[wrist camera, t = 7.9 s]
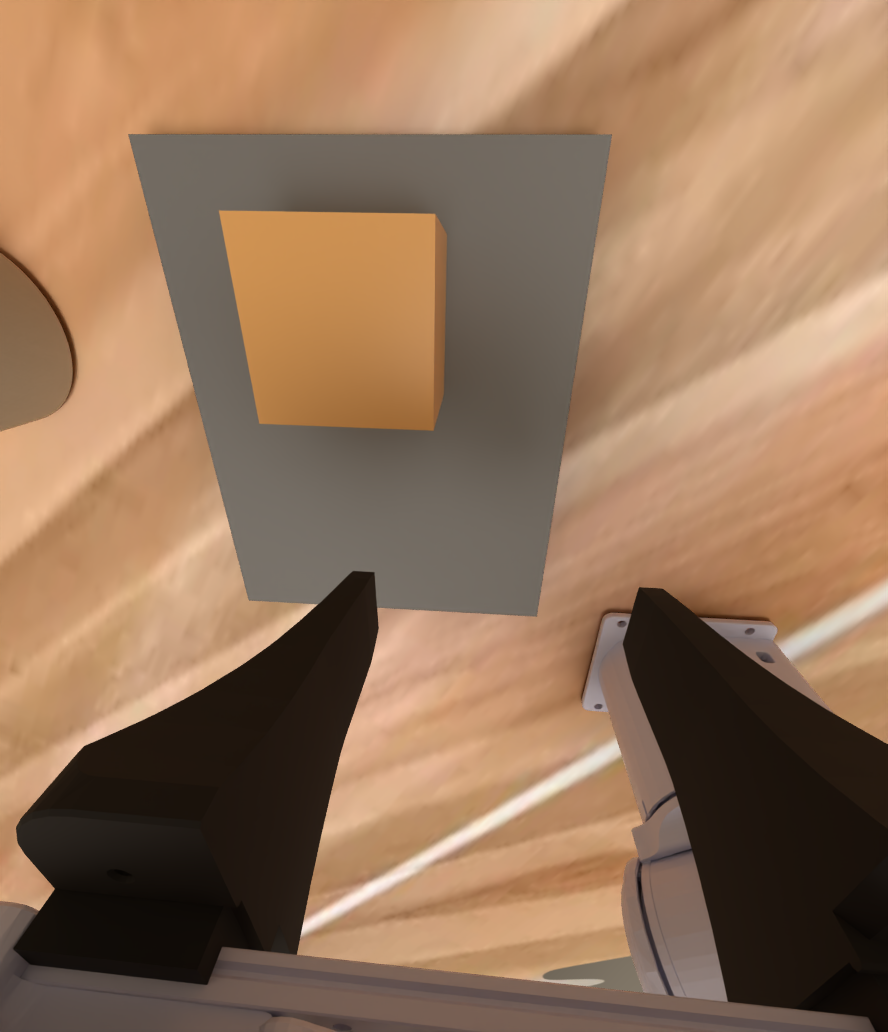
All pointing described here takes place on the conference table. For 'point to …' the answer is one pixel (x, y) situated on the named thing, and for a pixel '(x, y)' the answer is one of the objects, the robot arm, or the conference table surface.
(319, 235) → the wooden toy cube
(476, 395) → the board
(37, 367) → the travel mug
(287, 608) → the conference table surface
